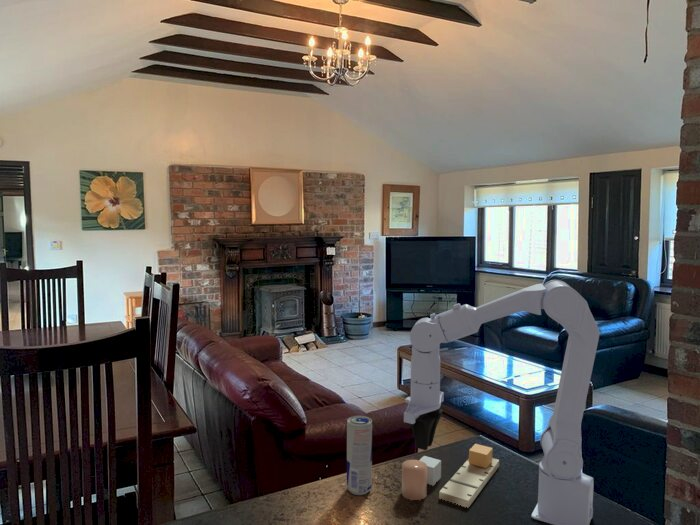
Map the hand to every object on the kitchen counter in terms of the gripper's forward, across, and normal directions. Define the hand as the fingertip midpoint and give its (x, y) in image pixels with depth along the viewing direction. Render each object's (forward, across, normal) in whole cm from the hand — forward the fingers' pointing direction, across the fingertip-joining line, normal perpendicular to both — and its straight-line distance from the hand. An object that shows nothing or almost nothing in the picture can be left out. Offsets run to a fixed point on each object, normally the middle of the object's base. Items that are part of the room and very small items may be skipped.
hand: (424, 446), depth 103 cm
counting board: (+10, -11, +6) cm, 16 cm away
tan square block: (+9, -17, +6) cm, 20 cm away
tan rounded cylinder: (+10, 0, -2) cm, 11 cm away
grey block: (+10, -7, -2) cm, 13 cm away
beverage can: (+11, +5, -12) cm, 17 cm away
